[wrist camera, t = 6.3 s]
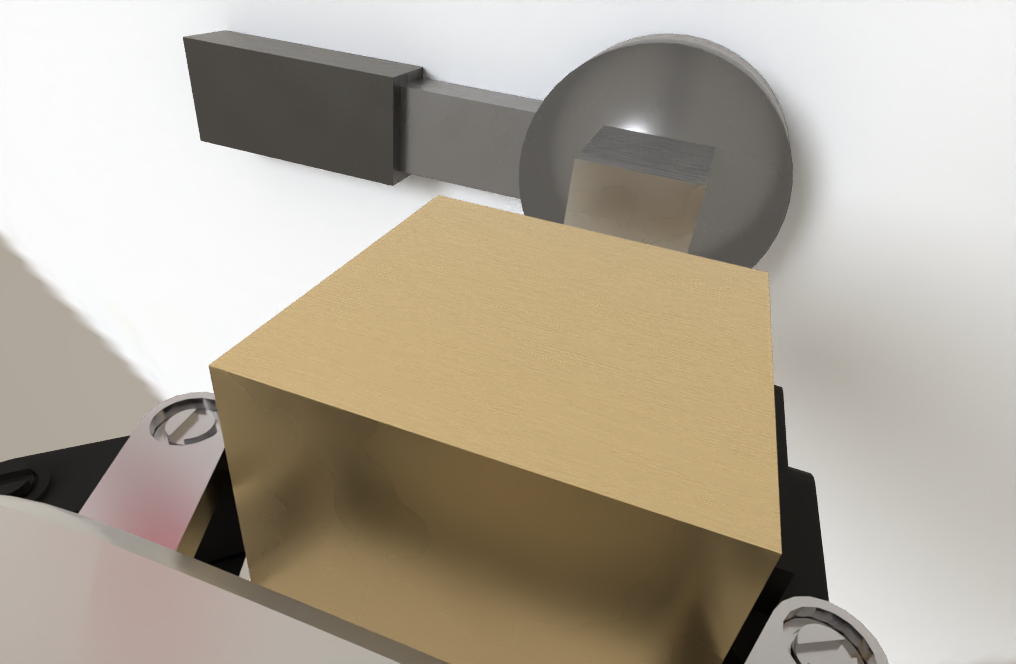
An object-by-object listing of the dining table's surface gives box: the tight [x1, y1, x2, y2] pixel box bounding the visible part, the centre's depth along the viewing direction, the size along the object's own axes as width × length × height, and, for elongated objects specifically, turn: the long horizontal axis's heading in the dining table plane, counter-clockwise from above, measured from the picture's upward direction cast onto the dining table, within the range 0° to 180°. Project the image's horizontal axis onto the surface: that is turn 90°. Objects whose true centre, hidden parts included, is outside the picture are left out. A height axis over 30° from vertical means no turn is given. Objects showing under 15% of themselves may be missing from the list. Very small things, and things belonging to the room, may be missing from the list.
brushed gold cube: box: [209, 195, 782, 664], centre depth 10 cm, size 6×6×6 cm
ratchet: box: [183, 30, 793, 268], centre depth 22 cm, size 9×23×6 cm, turn 84°
